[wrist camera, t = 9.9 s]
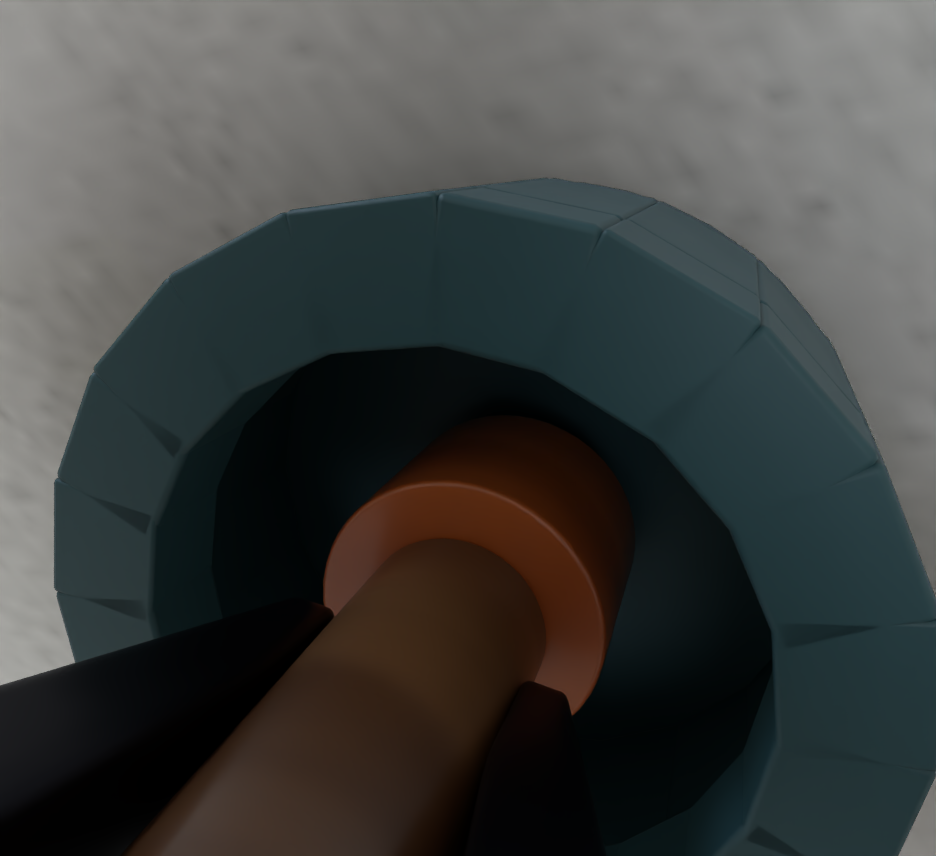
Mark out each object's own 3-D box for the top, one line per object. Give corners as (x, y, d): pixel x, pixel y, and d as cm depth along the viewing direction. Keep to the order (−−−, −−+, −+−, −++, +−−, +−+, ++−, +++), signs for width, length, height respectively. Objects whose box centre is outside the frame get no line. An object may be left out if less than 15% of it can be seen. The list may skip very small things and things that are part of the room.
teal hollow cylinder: (638, 838, 14) (585, 1157, 10) (205, 544, 15) (-26, 710, 11) (1023, 408, 11) (1225, 596, 6) (423, 57, 12) (213, -7, 7)
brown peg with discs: (626, 654, 11) (442, 1393, 5) (403, 613, 12) (-26, 1183, 6) (645, 427, 10) (446, 941, 4) (401, 401, 11) (-125, 775, 5)
